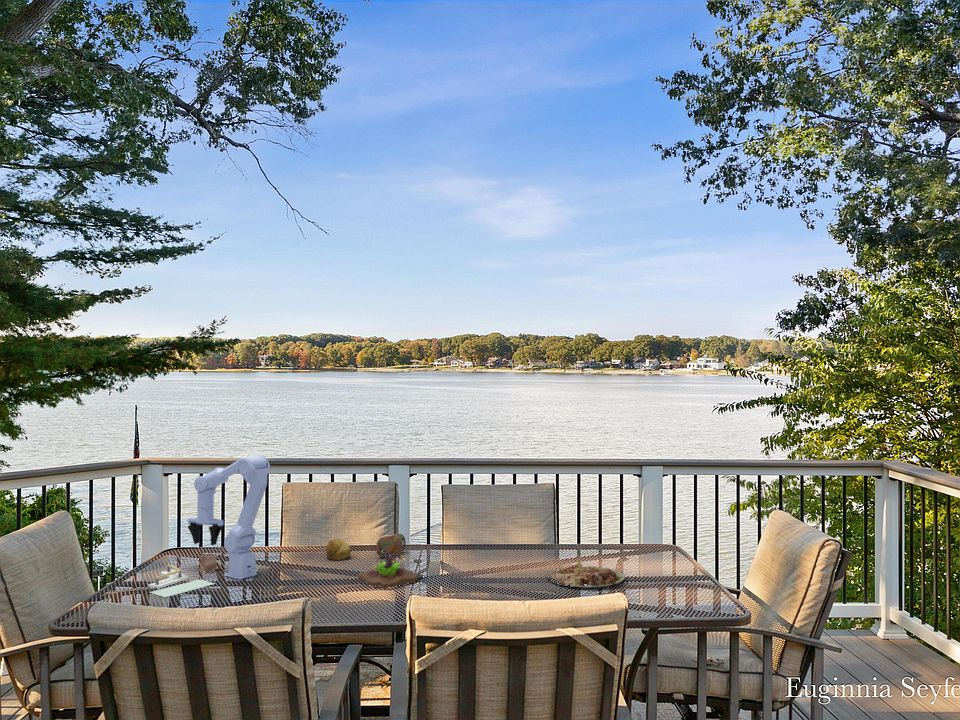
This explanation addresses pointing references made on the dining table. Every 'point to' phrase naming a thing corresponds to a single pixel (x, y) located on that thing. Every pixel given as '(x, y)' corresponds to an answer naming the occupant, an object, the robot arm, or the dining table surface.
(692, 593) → the dining table surface
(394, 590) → the dining table surface
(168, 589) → the end mat
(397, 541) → the tree canopy
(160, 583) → the wire track
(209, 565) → the rust block
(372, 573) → the plant
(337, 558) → the bread roll
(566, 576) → the rice dish
